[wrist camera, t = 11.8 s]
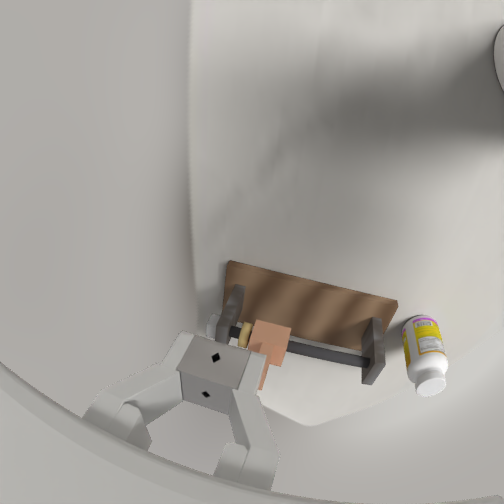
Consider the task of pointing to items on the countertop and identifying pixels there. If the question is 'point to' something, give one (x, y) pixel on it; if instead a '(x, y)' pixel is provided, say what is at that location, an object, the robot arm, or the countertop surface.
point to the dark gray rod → (290, 345)
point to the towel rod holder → (307, 311)
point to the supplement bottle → (424, 355)
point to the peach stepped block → (269, 344)
